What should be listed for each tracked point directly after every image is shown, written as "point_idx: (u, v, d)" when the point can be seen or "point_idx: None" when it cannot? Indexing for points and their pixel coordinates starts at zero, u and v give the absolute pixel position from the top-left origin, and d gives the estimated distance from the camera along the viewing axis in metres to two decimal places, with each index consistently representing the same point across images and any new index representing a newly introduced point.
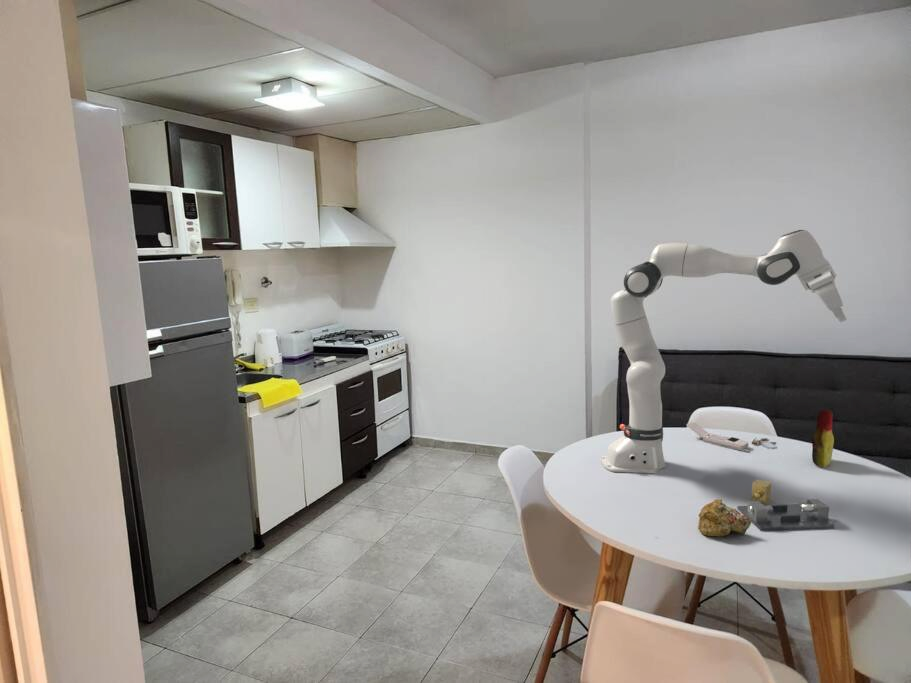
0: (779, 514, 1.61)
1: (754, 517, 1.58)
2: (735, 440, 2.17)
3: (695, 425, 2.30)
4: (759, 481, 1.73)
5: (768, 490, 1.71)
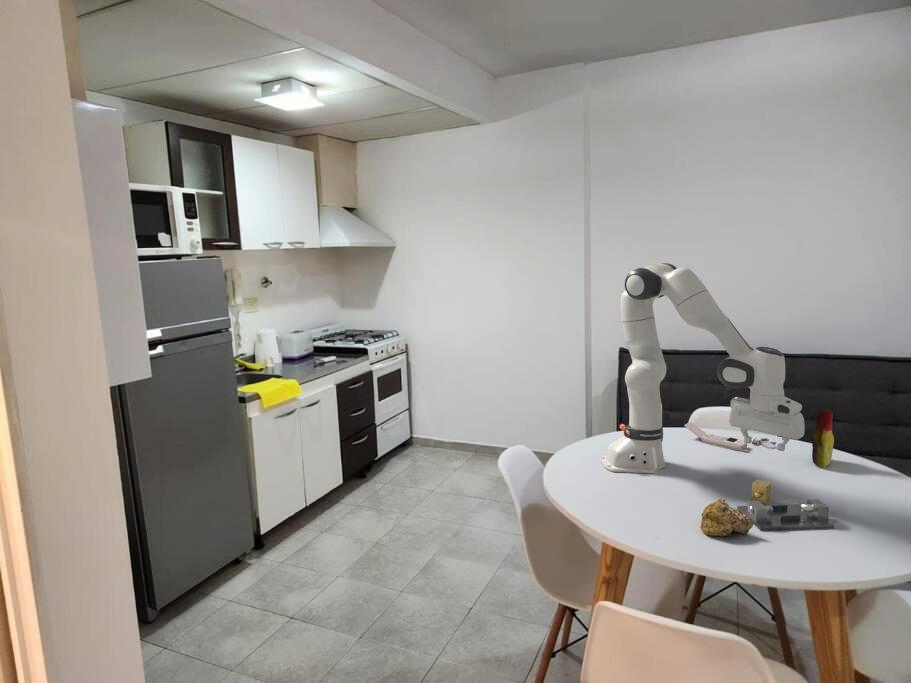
0: (779, 514, 1.61)
1: (754, 517, 1.58)
2: (734, 440, 2.16)
3: (693, 426, 2.30)
4: (759, 481, 1.73)
5: (768, 490, 1.71)
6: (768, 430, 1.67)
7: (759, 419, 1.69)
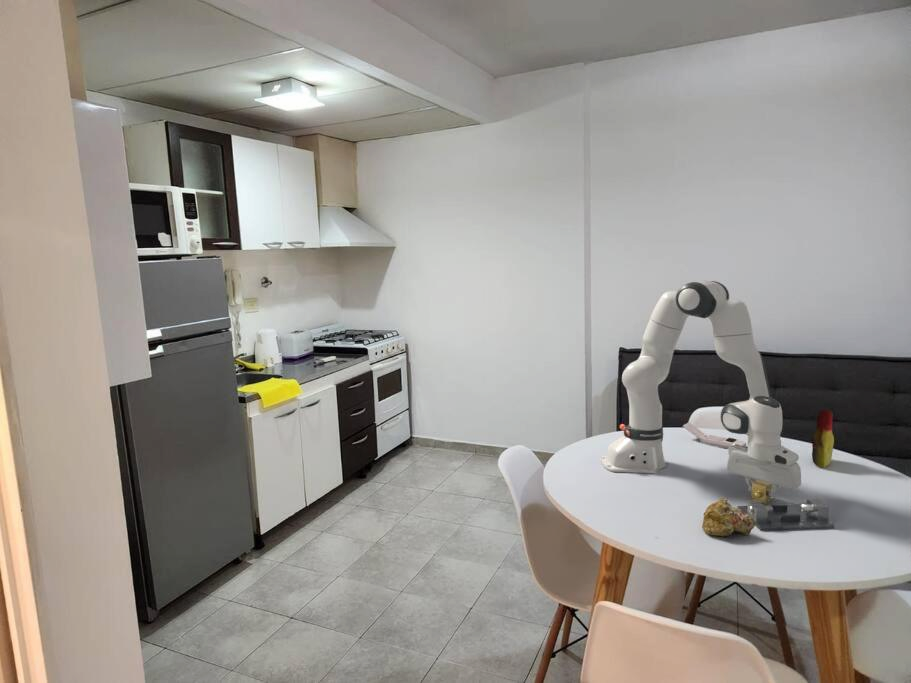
0: (779, 514, 1.61)
1: (754, 517, 1.58)
2: (733, 440, 2.16)
3: (691, 426, 2.29)
4: (759, 481, 1.73)
5: (768, 490, 1.71)
6: (765, 479, 1.69)
7: (756, 467, 1.71)
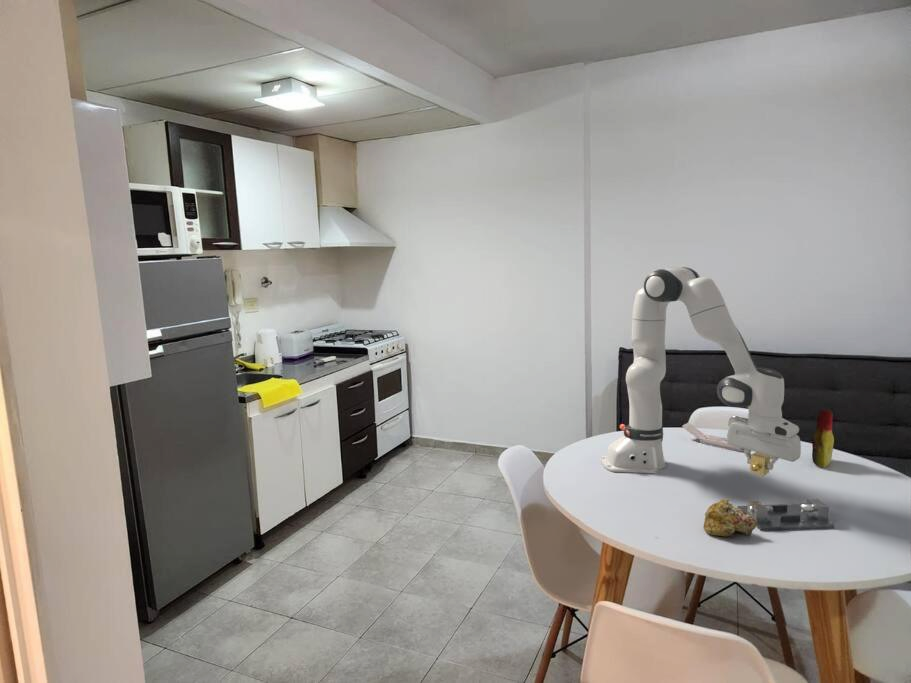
0: (779, 514, 1.61)
1: (754, 517, 1.58)
2: None
3: (690, 426, 2.29)
4: (758, 453, 1.72)
5: (767, 462, 1.70)
6: (764, 451, 1.68)
7: (756, 439, 1.70)
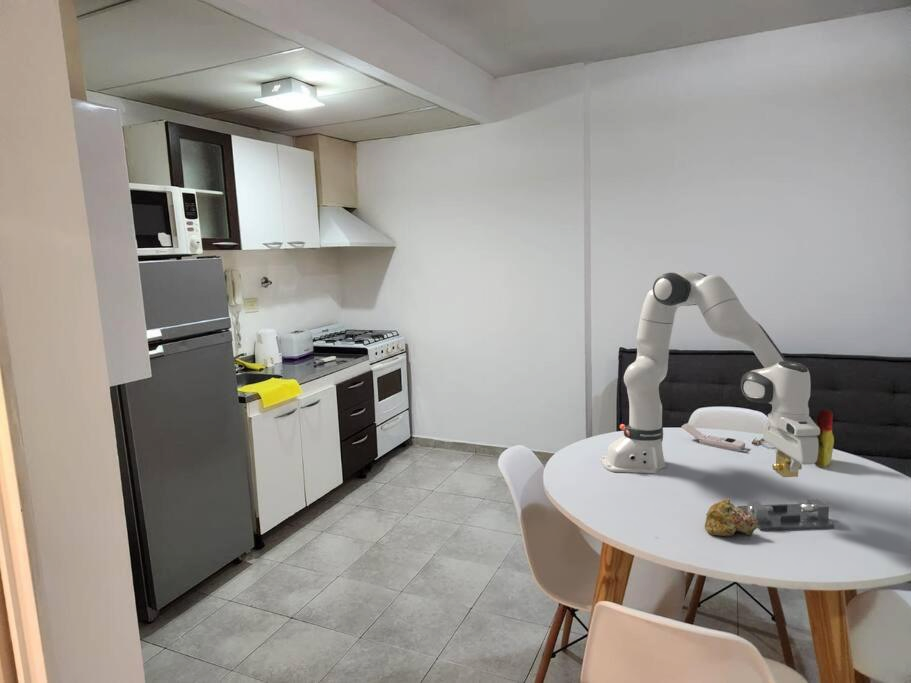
0: (779, 514, 1.61)
1: (754, 517, 1.58)
2: (732, 441, 2.16)
3: (689, 427, 2.29)
4: None
5: None
6: (785, 450, 1.56)
7: (780, 437, 1.59)
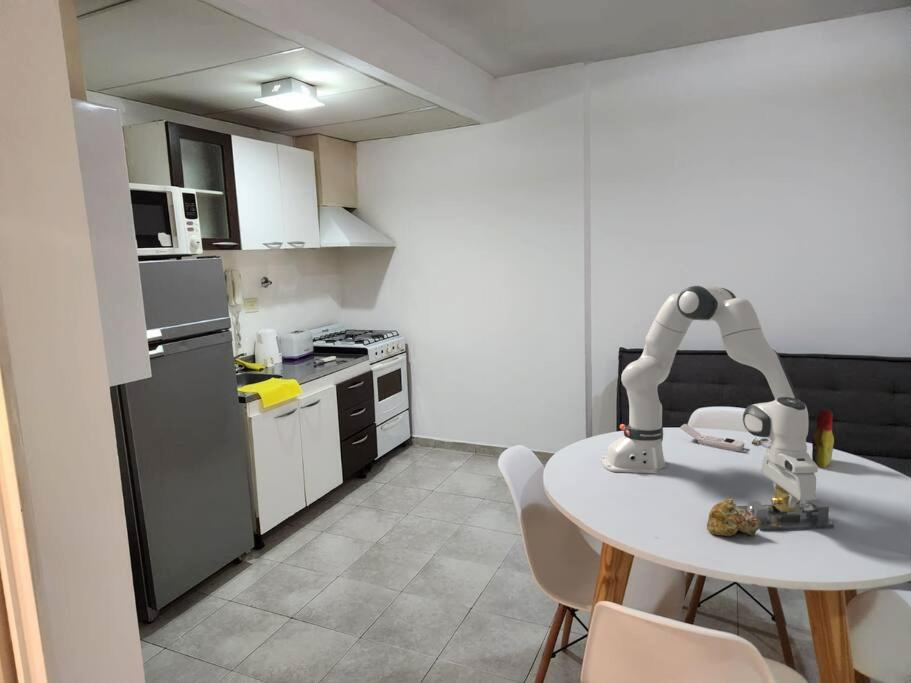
0: (779, 514, 1.61)
1: None
2: (731, 441, 2.16)
3: (688, 427, 2.28)
4: None
5: None
6: (783, 485, 1.58)
7: (779, 472, 1.60)
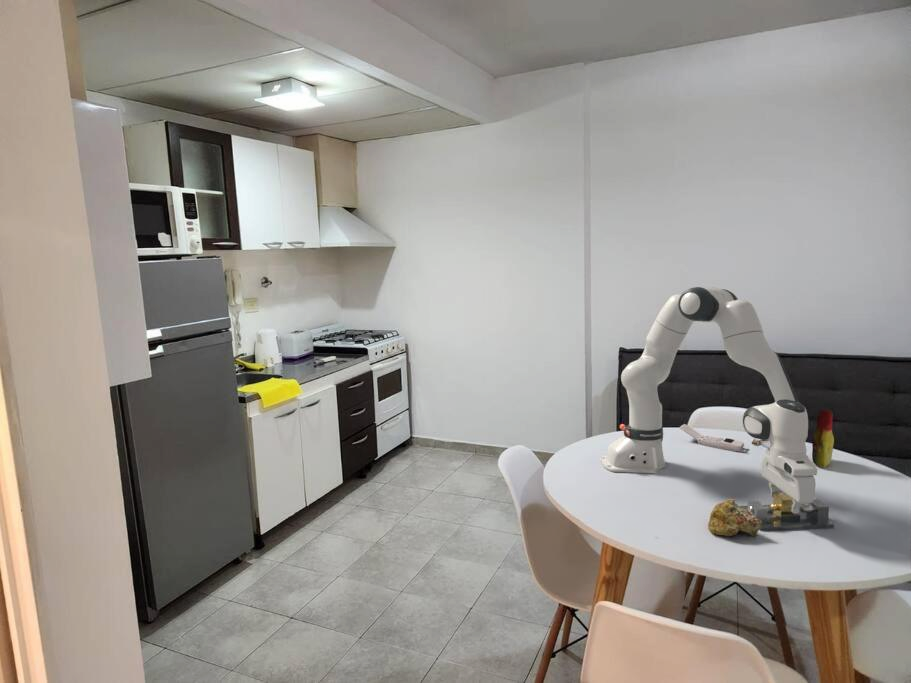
0: None
1: None
2: (731, 441, 2.16)
3: (687, 427, 2.28)
4: (785, 494, 1.61)
5: (788, 505, 1.59)
6: (782, 488, 1.58)
7: (778, 474, 1.60)
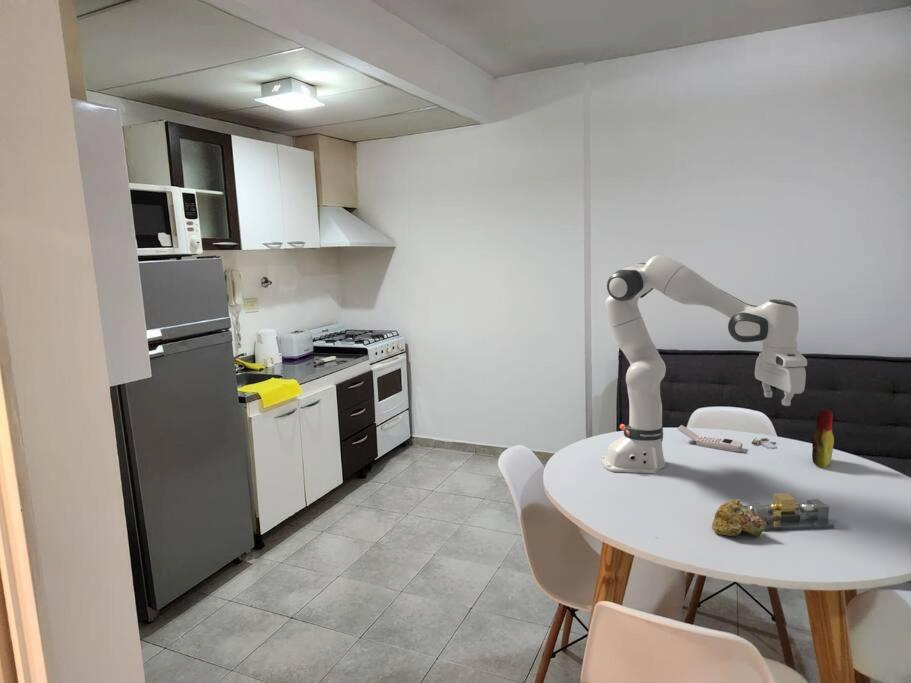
0: None
1: None
2: (730, 441, 2.15)
3: (685, 429, 2.26)
4: (785, 494, 1.61)
5: (788, 505, 1.59)
6: (774, 383, 1.65)
7: (770, 371, 1.68)
